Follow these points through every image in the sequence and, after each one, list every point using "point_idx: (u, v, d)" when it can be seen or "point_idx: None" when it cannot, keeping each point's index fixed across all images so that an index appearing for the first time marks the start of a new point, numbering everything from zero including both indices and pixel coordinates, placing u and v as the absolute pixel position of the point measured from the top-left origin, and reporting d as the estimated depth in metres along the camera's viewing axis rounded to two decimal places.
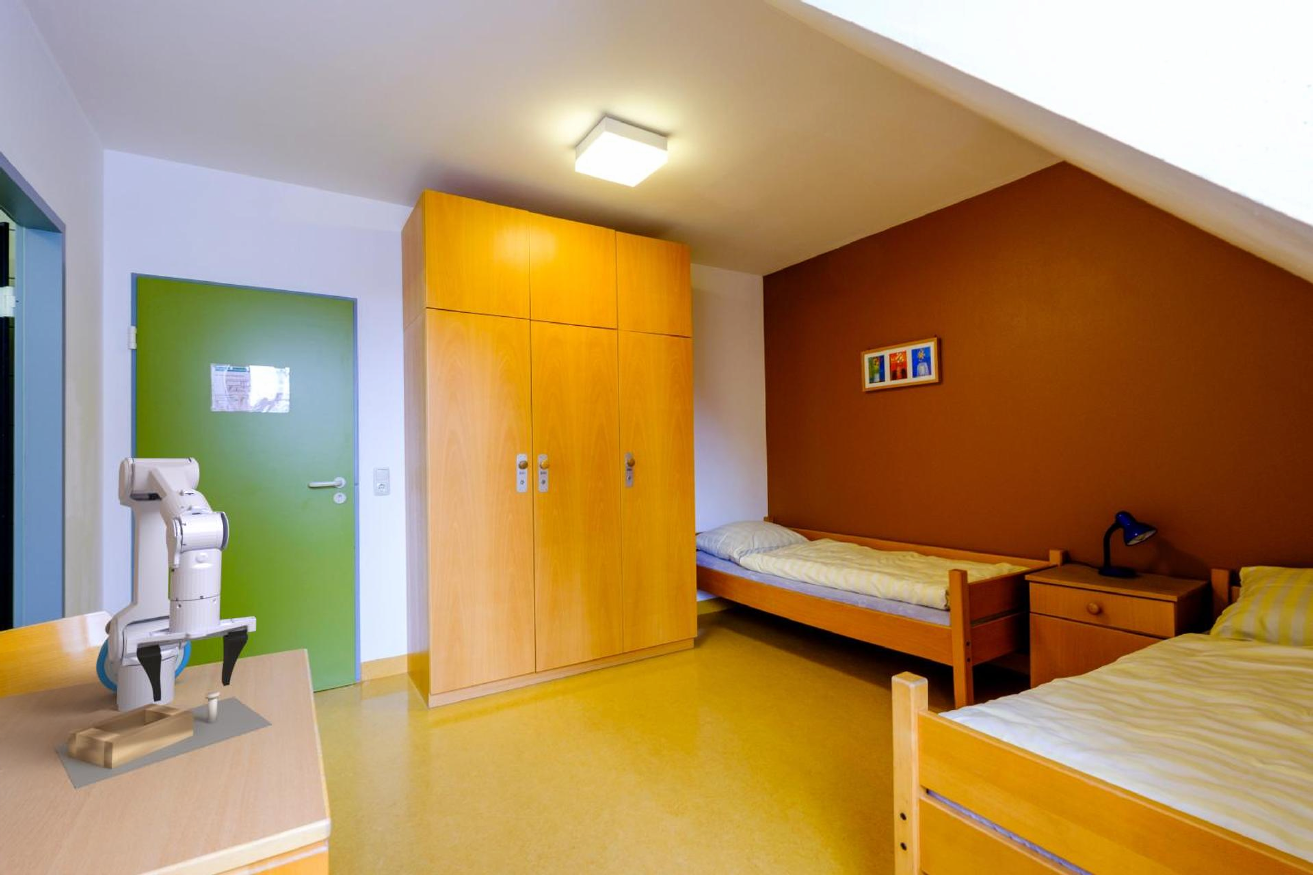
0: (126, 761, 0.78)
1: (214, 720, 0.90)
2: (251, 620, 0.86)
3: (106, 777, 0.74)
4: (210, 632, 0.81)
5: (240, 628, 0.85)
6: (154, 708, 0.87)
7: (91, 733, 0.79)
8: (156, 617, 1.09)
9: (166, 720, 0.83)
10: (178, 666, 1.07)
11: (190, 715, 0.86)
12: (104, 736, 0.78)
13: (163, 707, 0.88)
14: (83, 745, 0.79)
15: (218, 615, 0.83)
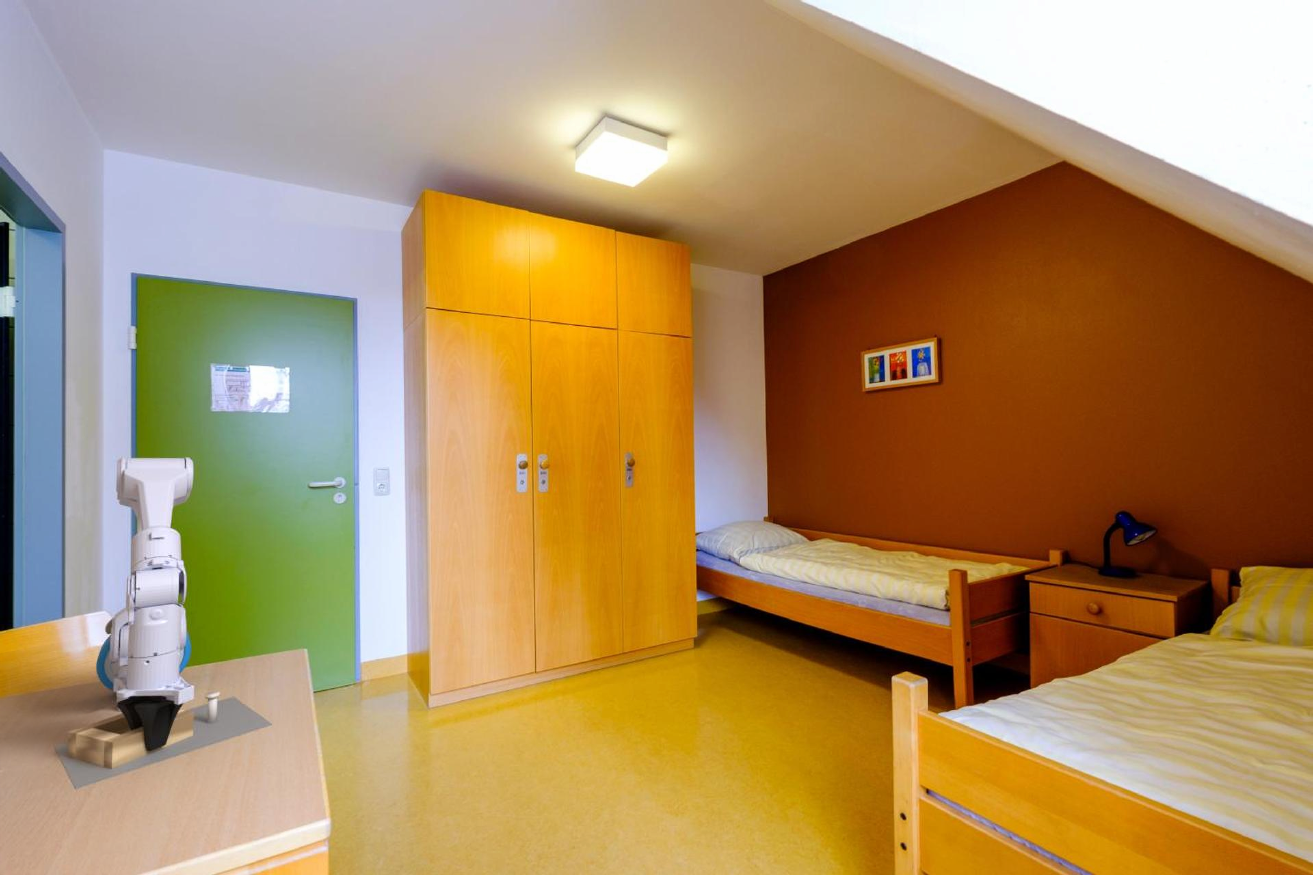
0: (126, 761, 0.78)
1: (214, 720, 0.90)
2: (175, 691, 0.79)
3: (106, 777, 0.74)
4: (137, 694, 0.79)
5: None
6: None
7: (91, 733, 0.79)
8: None
9: None
10: None
11: (190, 715, 0.86)
12: (104, 736, 0.78)
13: None
14: (83, 745, 0.79)
15: (155, 677, 0.80)
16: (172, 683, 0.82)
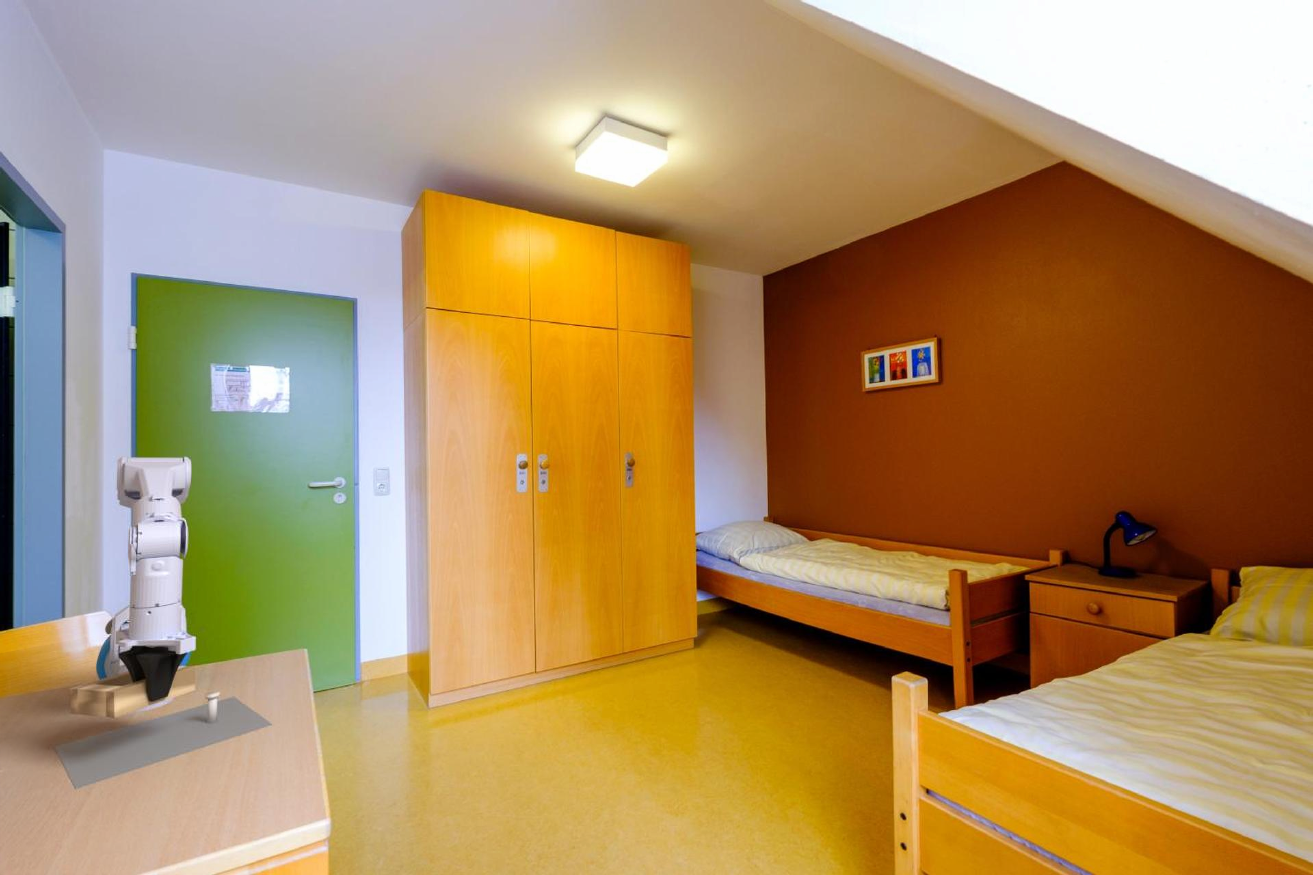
0: (129, 711, 0.78)
1: (214, 720, 0.90)
2: (177, 641, 0.79)
3: (106, 777, 0.74)
4: (139, 644, 0.79)
5: None
6: None
7: (92, 687, 0.80)
8: None
9: None
10: None
11: (191, 669, 0.86)
12: (105, 688, 0.79)
13: None
14: (85, 699, 0.79)
15: (157, 628, 0.80)
16: (174, 635, 0.82)
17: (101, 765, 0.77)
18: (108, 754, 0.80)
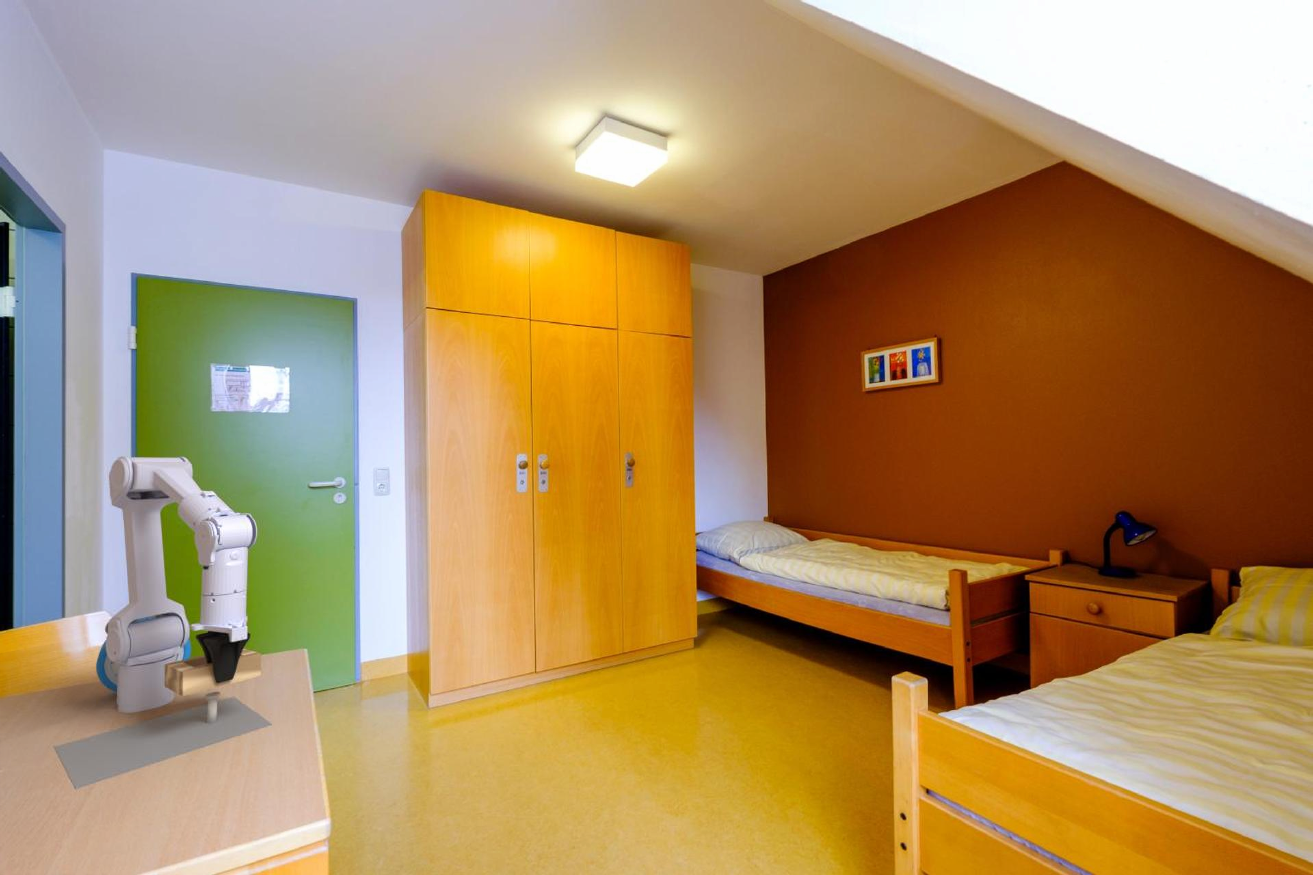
0: (196, 691, 0.85)
1: (214, 720, 0.90)
2: (230, 629, 0.84)
3: (106, 777, 0.74)
4: (205, 629, 0.86)
5: None
6: None
7: (177, 665, 0.88)
8: (156, 617, 1.09)
9: None
10: None
11: (257, 656, 0.91)
12: (182, 668, 0.86)
13: (243, 650, 0.95)
14: (170, 675, 0.88)
15: (219, 615, 0.86)
16: (235, 622, 0.88)
17: (101, 765, 0.77)
18: (108, 754, 0.80)
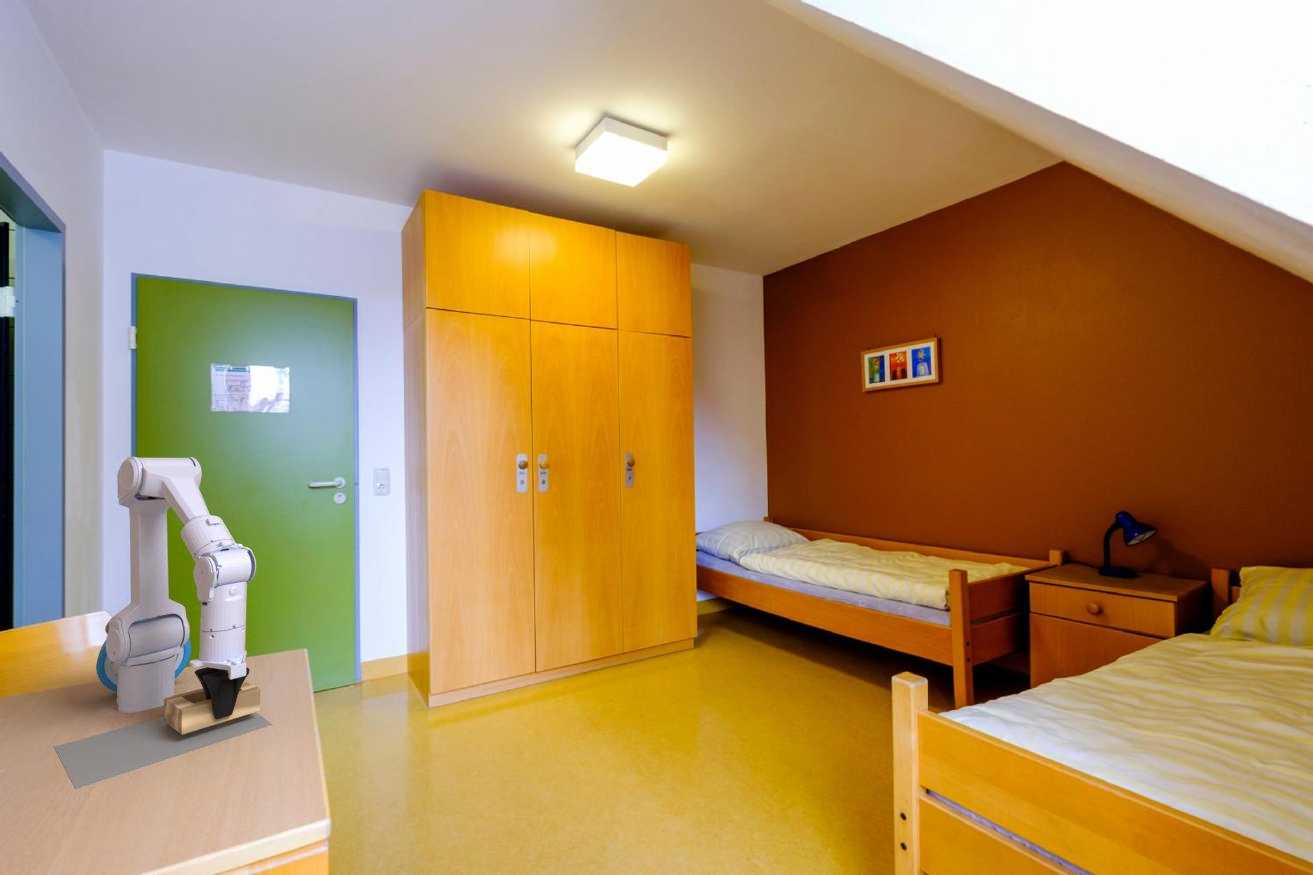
0: (195, 728, 0.85)
1: None
2: (229, 667, 0.84)
3: (106, 777, 0.74)
4: (204, 665, 0.85)
5: None
6: None
7: (176, 701, 0.88)
8: (156, 617, 1.09)
9: None
10: (178, 666, 1.07)
11: (257, 691, 0.91)
12: (181, 704, 0.86)
13: (243, 682, 0.95)
14: (169, 711, 0.87)
15: (218, 651, 0.86)
16: (234, 658, 0.87)
17: (101, 765, 0.77)
18: (108, 754, 0.80)
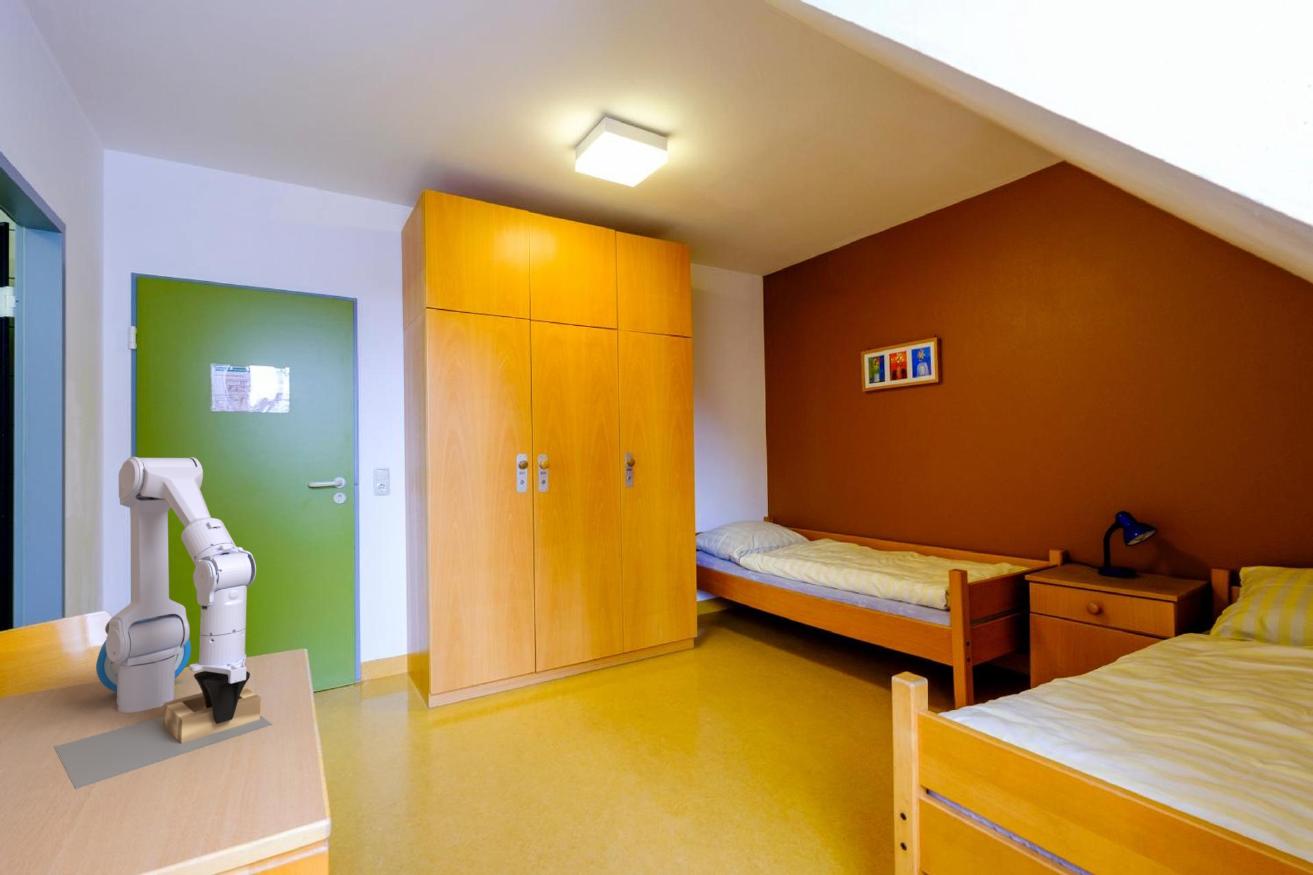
0: (195, 737, 0.85)
1: None
2: (228, 671, 0.84)
3: (106, 777, 0.74)
4: (204, 669, 0.85)
5: None
6: None
7: (176, 707, 0.88)
8: (156, 617, 1.09)
9: None
10: (178, 666, 1.07)
11: (257, 700, 0.91)
12: (182, 712, 0.86)
13: (243, 688, 0.95)
14: (169, 717, 0.87)
15: (218, 655, 0.86)
16: (234, 662, 0.87)
17: (101, 765, 0.77)
18: (108, 754, 0.80)
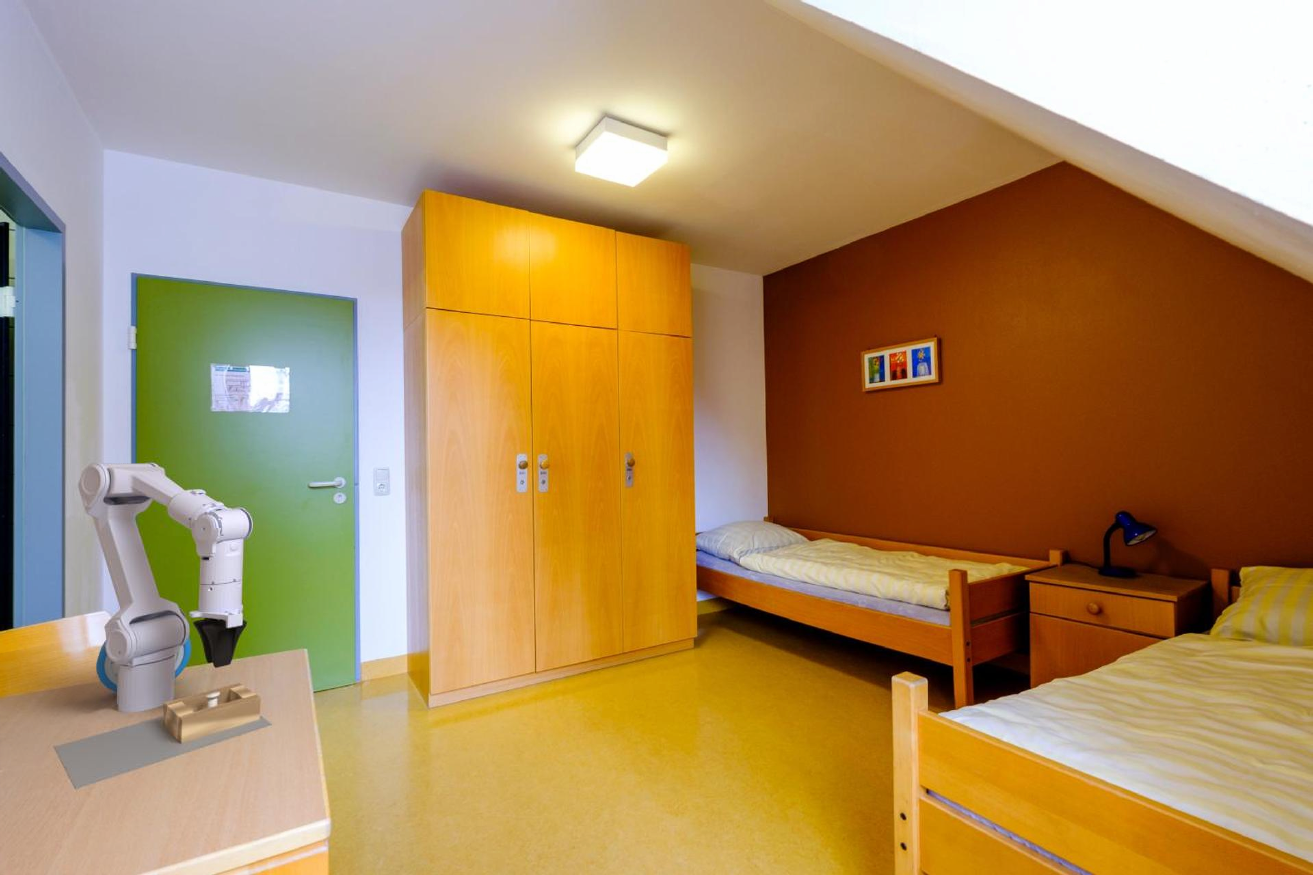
0: (195, 737, 0.85)
1: None
2: (226, 616, 0.89)
3: (106, 777, 0.74)
4: (203, 616, 0.91)
5: None
6: (236, 688, 0.95)
7: (176, 707, 0.88)
8: None
9: (235, 702, 0.89)
10: (178, 666, 1.07)
11: (257, 700, 0.91)
12: (182, 712, 0.86)
13: (243, 688, 0.95)
14: (169, 717, 0.87)
15: (216, 603, 0.92)
16: (231, 610, 0.93)
17: (101, 765, 0.77)
18: (108, 754, 0.80)
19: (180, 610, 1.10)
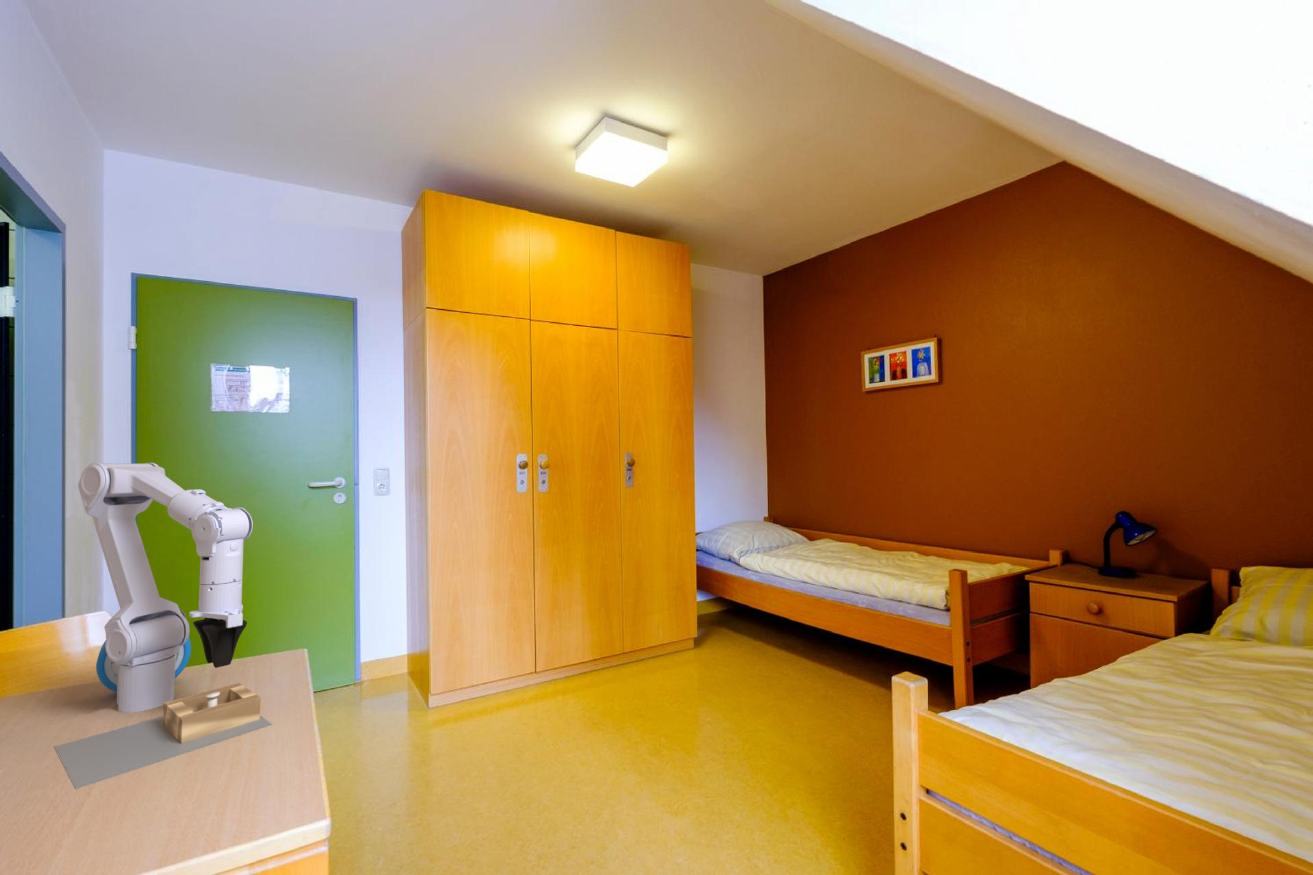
0: (195, 737, 0.85)
1: None
2: (226, 616, 0.89)
3: (106, 777, 0.74)
4: (203, 616, 0.91)
5: None
6: (236, 688, 0.95)
7: (176, 707, 0.88)
8: None
9: (235, 702, 0.89)
10: (178, 666, 1.07)
11: (257, 700, 0.91)
12: (182, 712, 0.86)
13: (243, 688, 0.95)
14: (169, 717, 0.87)
15: (216, 603, 0.92)
16: (231, 610, 0.93)
17: (101, 765, 0.77)
18: (108, 754, 0.80)
19: (180, 610, 1.10)
